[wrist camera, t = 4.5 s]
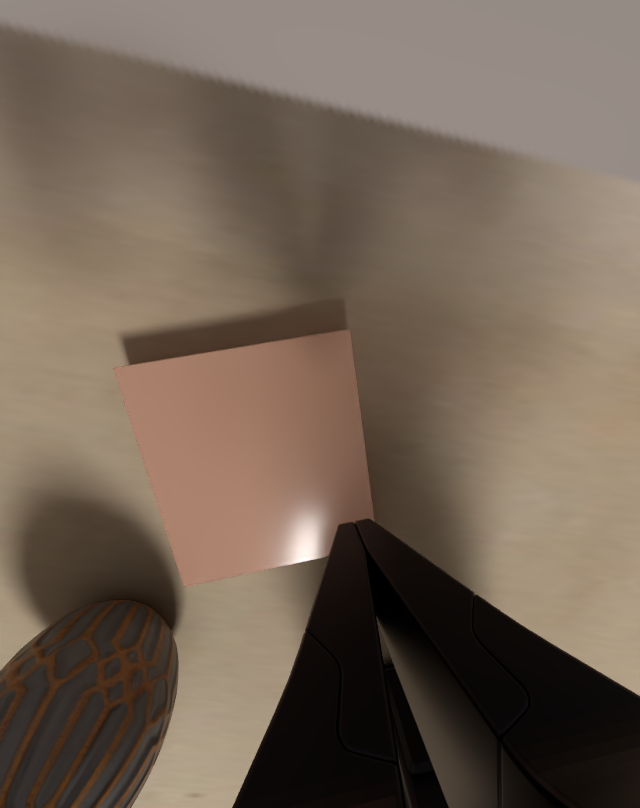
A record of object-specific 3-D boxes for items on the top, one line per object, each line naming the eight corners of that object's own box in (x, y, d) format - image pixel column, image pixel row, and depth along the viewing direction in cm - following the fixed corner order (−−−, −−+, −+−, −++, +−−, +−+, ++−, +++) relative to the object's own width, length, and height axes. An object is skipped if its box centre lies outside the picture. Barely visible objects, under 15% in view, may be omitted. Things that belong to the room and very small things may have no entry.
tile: (377, 545, 15) (184, 586, 14) (369, 525, 16) (193, 562, 15) (350, 329, 12) (113, 368, 12) (342, 329, 14) (132, 363, 13)
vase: (139, 703, 17) (-11, 1082, 8) (20, 642, 15) (-315, 1034, 7) (223, 621, 16) (152, 944, 8) (107, 548, 15) (-145, 853, 6)
